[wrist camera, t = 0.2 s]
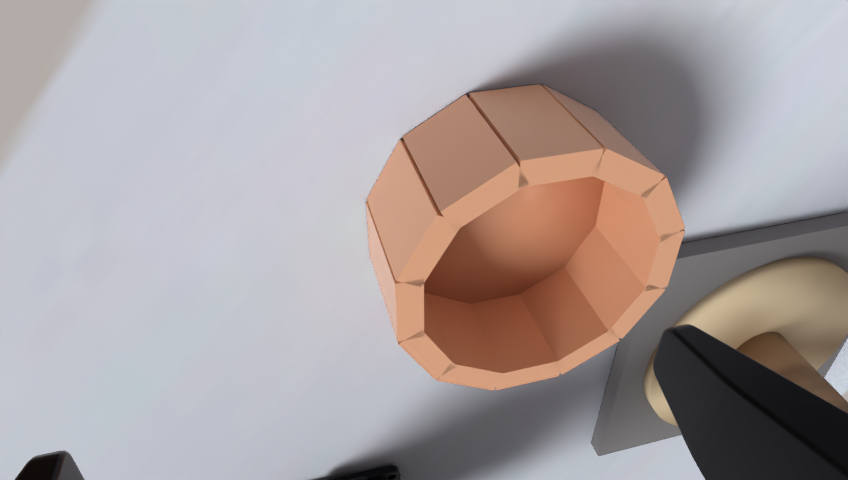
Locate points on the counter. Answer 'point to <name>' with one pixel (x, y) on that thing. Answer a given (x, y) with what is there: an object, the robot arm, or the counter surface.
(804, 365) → the lid
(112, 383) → the counter surface
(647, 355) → the mat
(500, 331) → the bowl
